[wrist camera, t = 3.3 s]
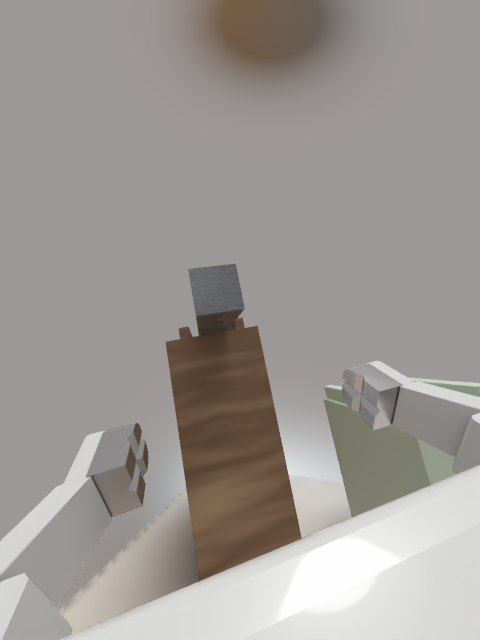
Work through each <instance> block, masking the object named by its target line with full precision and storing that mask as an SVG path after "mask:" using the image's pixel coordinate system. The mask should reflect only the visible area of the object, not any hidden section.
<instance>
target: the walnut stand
mask: <svg viewBox="0 0 480 640" xmlns="http://www.w3.org/2000/svg"><path fill="white" fill-rule="evenodd" d="M179 333H180V340H174V341H168V342H166V347H167V355H168V361H169V368H170V376H171V382H172V389H173V397H174V404H175V411H176V418H177V425H178V432H179V439H180V446H181V453H182V460H183V467H184V474H185V480H186V488H187V495H188V502H189V509H190V516H191V523H192V530H193V537H194V544H195V551H196V558H197V565H198V572H199V579H200V581H201V580H204V579H206V578H208V577H211V576H213V575H216V574H218V573H220V572H223V571H225V570H228V569H230V568H232V567H235V566H237V565H240V564H242V563H244V562H247V561H249V560H252V559H254V558H256V557H259V556H261V555H264V554H266V553H268V552H271V551H273V550H276V549H278V548H280V547H283V546H285V545H288V544H290V543H292V542H295V541H297V540H300V539H302V538H301V533H300V528H299V524H298V519H297V514H296V509H295V504H294V499H293V495H292V490H291V485H290V480H289V475H288V471H287V466H286V461H285V456H284V451H283V446H282V442H281V437H280V432H279V427H278V423H277V418H276V413H275V408H274V403H273V399H272V394H271V389H270V384H269V379H268V374H267V369H266V365H265V360H264V355H263V350H262V345H261V340H260V336H259V331H258V326H254V327H248V328H244V323H243V318H238V319H236V320H235V321H234V323H233V324H232V325H231V326H230V328H229V329H228V330H227V331H225V332H220V333H214V334H208V335H202V336H197V337H193V336H192V334H191V332H190V330H189V327H183V328H179Z"/></svg>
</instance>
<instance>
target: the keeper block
mask: <svg viewBox="0 0 480 640" xmlns="http://www.w3.org/2000/svg"><path fill="white" fill-rule="evenodd" d="M409 379H410V380H412V381H414V382H417V381H419V382H423V383H427V384H430V385H434V386H438V387H442V388H446V389H450V390H454V391H457V392H461V393H465V394H469V395H473V396H477V397H480V383H469V382H456V381H444V380H431V379H419V378H409ZM325 391H326V395H327V398H325V399H324V403H325V407H326V411H327V415H328V420H329V424H330V428H331V432H332V436H333V440H334V444H335V448H336V453H337V457H338V461H339V465H340V469H341V474H342V478H343V482H344V486H345V490H346V494H347V499H348V503H349V507H350V511H351V515H352V517H355V516H357V515H360V514H362V513H364V512H367V511H369V510H372V509H374V508H377V507H379V506H381V505H384V504H386V503H389V502H391V501H393V500H396V499H398V498H401V497H403V496H405V495H408V494H410V493H413V492H415V491H417V490H420V489H422V488H425V487H427V486H430V485H432V484H434V483H437V482H439V481H442V480H444V479H446V478H449V477H451V476H454V475H456V474H455V473H454V472H453V470H452V466H453V463H454V460H455V457H453V456H451V455H449V454H447V453H445V452H443V451H441V450H439V449H437V448H435V447H433V446H431V445H429V444H427V443H425V442H423V441H421V440H419V439H417V438H415V437H413V436H411V435H409V434H407V433H405V432H403V431H401V430H399V429H397V428H395V427H393V426H392V425H390V426H386V427H383V428H379V429H376V430H372V429H371V428H370V427H369V426H368V425H367V424H366V423H365V422H364V421H363V420H362V419H361V418H360V417H359V412H357V411H354V410H352V409H350V407H349V406H348V405H347V404H346V403H345V401H344V399H343V396H342V387H341V386H335V385H329V386H325Z"/></svg>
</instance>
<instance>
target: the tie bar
mask: <svg viewBox="0 0 480 640" xmlns="http://www.w3.org/2000/svg"><path fill="white" fill-rule="evenodd" d="M188 270H189V276H190V282H191V289H192V295H193V301H194V307H195V314H196V320H197V326H198V332H199V336H202V335H208V334H214V333H220V332H225V331H227V330H228V329H229V328H230V326H231V325H232V324H233V323H234V321H235V320H236V319H237V318H238V316H239V315H240V314H241V313H242V311H243V310H244V303H243V298H242V293H241V288H240V283H239V278H238V274H237V268H236V264H230V265H221V266H212V267H203V268H195V269H188Z"/></svg>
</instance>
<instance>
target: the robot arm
mask: <svg viewBox="0 0 480 640" xmlns="http://www.w3.org/2000/svg"><path fill="white" fill-rule="evenodd" d="M343 379H344V380H345V383H344V385H343V386H342V396H343V399H344V401H345V403H346V404H347V405H348V406H349V407H350V409H352V410H354V411H357V412H359V417H360V418H361V419H362V420H363V421H364V422H365V423H366V424H367V425H368V426H369V427H370V428H371V429H372V430H376V429H379V428H383V427H386V426H390V425H392V426H393V427H395V428H397V429H399V430H401V431H403V432H405V433H407V434H409V435H411V436H413V437H415V438H417V439H419V440H421V441H423V442H425V443H427V444H429V445H431V446H433V447H435V448H437V449H439V450H441V451H443V452H445V453H447V454H449V455H451V456H453V457H455V460H454V463H453V466H452V470H453V472H454V473H455V474H456V475H454V476H451V477H449V478H446V479H444V480H442V481H439V482H437V483H434V484H432V485H430V486H427V487H425V488H422V489H420V490H417V491H415V492H413V493H410V494H408V495H405V496H403V497H401V498H398V499H396V500H393V501H391V502H389V503H386V504H384V505H381V506H379V507H377V508H374V509H372V510H369V511H367V512H364V513H362V514H360V515H357V516H355V517H352V518H350V519H348V520H345V521H343V522H340V523H338V524H336V525H333V526H331V527H328V528H326V529H324V530H321V531H319V532H316V533H314V534H312V535H309V536H307V537H304V538H302V539H300V540H297V541H295V542H292V543H290V544H288V545H285V546H283V547H280V548H278V549H276V550H273V551H271V552H268V553H266V554H264V555H261V556H259V557H256V558H254V559H252V560H249V561H247V562H244V563H242V564H240V565H237V566H235V567H232V568H230V569H228V570H225V571H223V572H220V573H218V574H216V575H213V576H211V577H208V578H206V579H204V580H201V581H199V582H196V583H194V584H192V585H189V586H187V587H184V588H182V589H180V590H177V591H175V592H172V593H170V594H168V595H165V596H163V597H160V598H158V599H156V600H153V601H151V602H148V603H146V604H143V605H141V606H139V607H136V608H134V609H131V610H129V611H127V612H124V613H122V614H119V615H117V616H115V617H112V618H110V619H107V620H105V621H103V622H100V623H98V624H95V625H93V626H91V627H88V628H86V629H83V630H81V631H79V632H76V633H74V634H71V632H72V627H71V625H70V623H69V622H68V621H67V620H66V619H65V618H64V616H63V615H62V614H61V613H60V612H59V611H58V610H57V608H58V606H59V605H60V603H61V601H62V600H63V598H64V596H65V595H66V593H67V591H68V590H69V588H70V587H71V585H72V584H73V582H74V580H75V579H76V577H77V575H78V574H79V572H80V571H81V569H82V567H83V566H84V564H85V563H86V561H87V559H88V558H89V556H90V554H91V553H92V551H93V550H94V548H95V546H96V545H97V543H98V542H99V540H100V538H101V537H102V535H103V533H104V532H105V530H106V529H107V527H108V525H109V524H110V522H111V521H112V517H115V516H117V515H120V514H123V513H126V512H128V511H131V510H134V509H137V508H140V507H142V505H143V498H144V490H145V482H144V479H143V476H144V474H145V473H146V472H147V467H148V450H147V446H146V442H145V440H143V439H141V433H142V431H141V428H140V426H139V424H138V423H135V424H130V425H126V426H122V427H118V428H113V429H109V430H106V431H102V432H97V433H94V434H89V435H88V436H87V437H86V438H85V440H84V442H83V444H82V446H81V448H80V450H79V453H78V454H77V456H76V458H75V461H74V463H73V465H72V467H71V469H70V471H69V473H68V475H67V478H66V480H65V482H64V484H63V485H60V486H57V487H56V488H55V489H54V490H53V491H52V492H51V493H50V494H49V495H48V496H47V497H46V498H45V499H44V500H43V501H42V502H40V503H39V504H38V505H37V507H35V508H34V509H33V510H32V511H31V512H30V513H29V514H28V515H27V516H26V517H25V518H24V519H23V520H22V521H21V522H20V523H19V524H18V525H17V526H16V527H15V528H14V529H13V530H12V531H11V532H9V533H8V534H7V535H6V537H4V538H3V539H2V540H1V541H0V640H480V397H477V396H473V395H469V394H465V393H461V392H457V391H454V390H450V389H446V388H442V387H438V386H434V385H430V384H427V383H423V382H419V381H417V382H414V381H412V380H410V379H409V378H407V377H405V376H404V375H402V374H400V373H399V372H397V371H395V370H394V369H392V368H390V367H389V366H387V365H385V364H384V363H382V362H379V361H375V362H371V363H367V364H365V365H361V366H357V367H353V368H350V369H346V370H345V371H344V373H343Z"/></svg>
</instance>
